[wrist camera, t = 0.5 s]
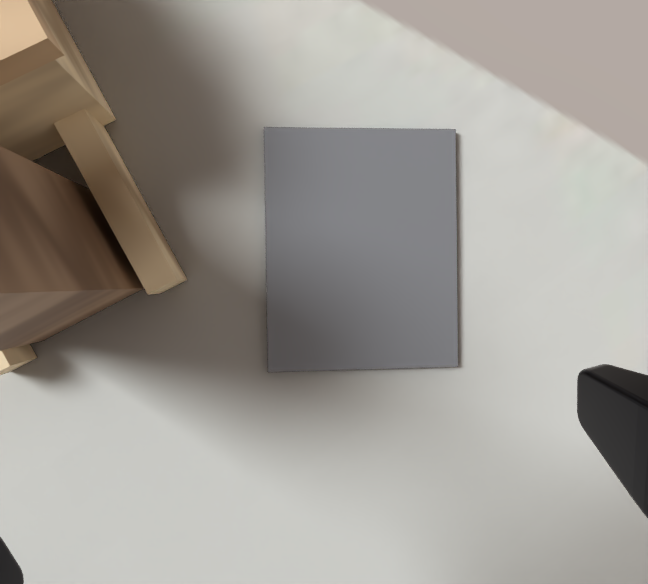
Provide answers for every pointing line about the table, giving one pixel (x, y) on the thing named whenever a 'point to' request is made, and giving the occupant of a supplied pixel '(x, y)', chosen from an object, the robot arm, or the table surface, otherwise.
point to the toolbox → (72, 137)
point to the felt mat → (360, 248)
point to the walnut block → (53, 254)
